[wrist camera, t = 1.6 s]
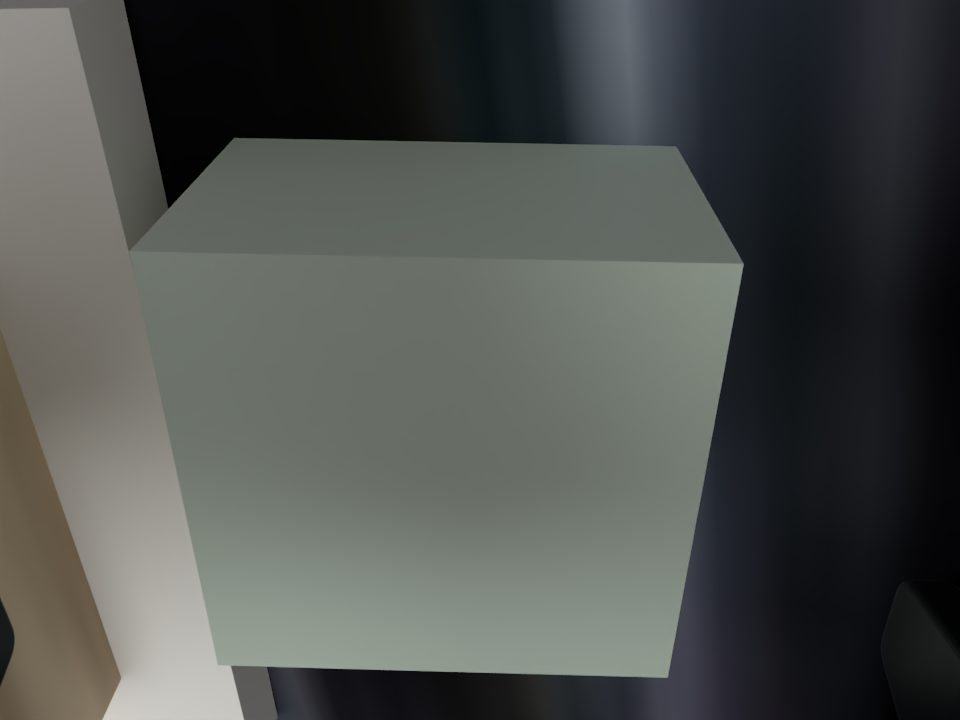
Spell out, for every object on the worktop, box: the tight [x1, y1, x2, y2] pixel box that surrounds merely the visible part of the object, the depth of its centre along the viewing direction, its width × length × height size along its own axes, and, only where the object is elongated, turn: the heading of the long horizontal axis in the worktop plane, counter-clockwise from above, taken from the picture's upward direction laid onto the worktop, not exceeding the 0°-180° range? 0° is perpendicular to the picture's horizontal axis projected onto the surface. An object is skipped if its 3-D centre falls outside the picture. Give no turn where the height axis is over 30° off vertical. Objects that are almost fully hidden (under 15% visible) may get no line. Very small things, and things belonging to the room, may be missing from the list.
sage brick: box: [129, 138, 744, 678], centre depth 12 cm, size 6×6×4 cm
